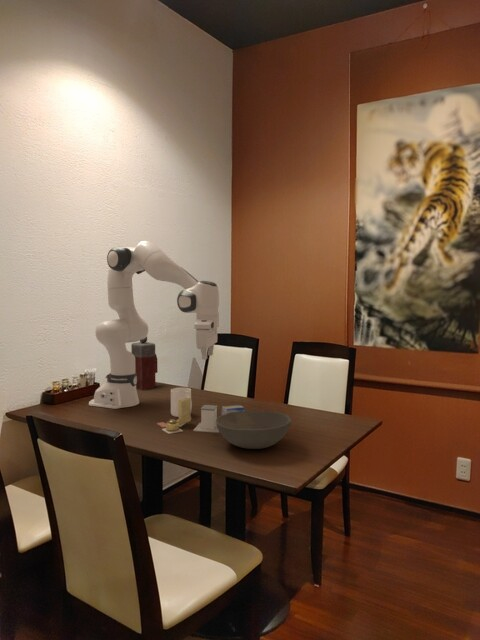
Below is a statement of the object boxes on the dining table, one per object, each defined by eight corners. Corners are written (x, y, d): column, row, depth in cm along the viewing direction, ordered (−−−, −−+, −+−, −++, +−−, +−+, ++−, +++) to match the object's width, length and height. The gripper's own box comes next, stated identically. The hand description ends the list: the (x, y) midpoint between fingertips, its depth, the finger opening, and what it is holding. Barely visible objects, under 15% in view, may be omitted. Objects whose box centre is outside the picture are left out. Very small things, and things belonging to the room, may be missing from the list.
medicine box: (225, 431, 198) (226, 408, 197) (220, 427, 202) (221, 405, 201) (243, 429, 201) (245, 407, 200) (238, 425, 205) (239, 404, 204)
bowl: (233, 463, 166) (233, 433, 165) (205, 438, 190) (205, 411, 189) (304, 452, 176) (305, 424, 175) (269, 430, 200) (270, 405, 199)
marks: (146, 432, 196) (146, 431, 196) (160, 420, 211) (160, 420, 211) (179, 434, 194) (179, 433, 194) (191, 422, 209) (191, 422, 209)
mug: (182, 420, 212) (182, 394, 211) (166, 413, 221) (166, 389, 220) (199, 416, 218) (199, 391, 217) (183, 410, 227) (183, 386, 226)
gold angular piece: (173, 431, 195) (173, 406, 194) (163, 429, 198) (163, 404, 197) (194, 422, 207) (194, 398, 206) (184, 421, 209) (184, 397, 208)
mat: (193, 431, 198) (193, 430, 198) (199, 423, 208) (199, 422, 208) (218, 432, 196) (218, 431, 196) (224, 425, 206) (224, 424, 206)
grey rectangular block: (200, 428, 200) (200, 408, 199) (204, 424, 205) (204, 404, 204) (214, 429, 199) (214, 409, 198) (217, 425, 204) (217, 405, 203)
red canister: (159, 386, 271) (159, 334, 269) (141, 390, 263) (140, 335, 261) (149, 384, 278) (149, 332, 275) (131, 387, 270) (131, 334, 267)
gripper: (206, 319, 214) (206, 352, 215) (193, 324, 194) (193, 361, 195) (221, 320, 213) (221, 353, 214) (209, 325, 193) (209, 361, 194)
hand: (207, 357), depth 205 cm, fingers open, 8 cm apart
